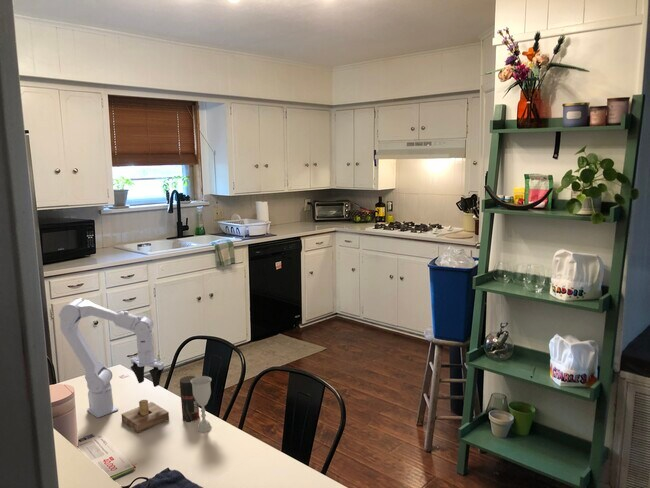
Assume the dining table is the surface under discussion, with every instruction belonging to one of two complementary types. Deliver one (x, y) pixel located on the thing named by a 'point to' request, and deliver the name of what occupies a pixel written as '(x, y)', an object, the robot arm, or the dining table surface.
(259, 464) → the dining table surface
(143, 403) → the pin
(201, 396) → the chalice
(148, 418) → the socket block
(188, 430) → the dining table surface
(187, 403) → the deodorant
